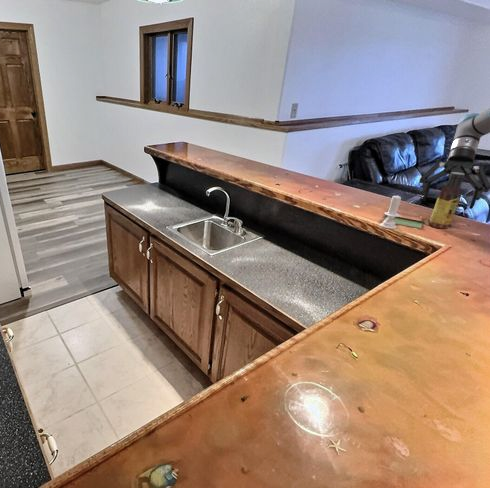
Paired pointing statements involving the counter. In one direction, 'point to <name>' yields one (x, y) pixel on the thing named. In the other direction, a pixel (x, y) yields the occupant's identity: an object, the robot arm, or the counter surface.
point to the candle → (392, 213)
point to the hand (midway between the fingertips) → (447, 203)
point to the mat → (407, 222)
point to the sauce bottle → (447, 202)
